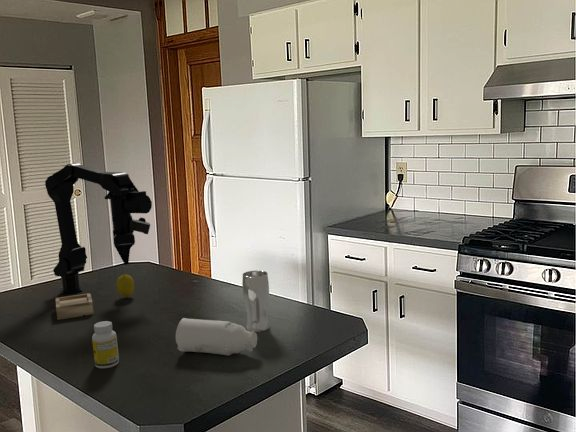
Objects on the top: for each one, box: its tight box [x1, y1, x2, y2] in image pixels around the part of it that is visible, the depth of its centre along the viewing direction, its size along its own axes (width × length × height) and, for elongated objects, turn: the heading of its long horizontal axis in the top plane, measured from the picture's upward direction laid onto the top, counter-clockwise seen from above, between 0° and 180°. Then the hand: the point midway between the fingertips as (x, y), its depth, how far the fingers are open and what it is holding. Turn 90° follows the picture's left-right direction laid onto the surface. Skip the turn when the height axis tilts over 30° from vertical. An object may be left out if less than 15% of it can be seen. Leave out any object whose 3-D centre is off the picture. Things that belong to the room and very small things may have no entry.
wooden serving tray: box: [55, 292, 95, 320], centre depth 171 cm, size 10×10×4 cm
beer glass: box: [242, 270, 270, 333], centre depth 150 cm, size 7×7×15 cm
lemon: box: [116, 273, 135, 299], centre depth 183 cm, size 6×6×8 cm
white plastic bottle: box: [175, 317, 258, 356], centre depth 135 cm, size 8×19×8 cm, turn 72°
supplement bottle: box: [91, 320, 120, 369], centre depth 131 cm, size 5×5×10 cm
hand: (126, 261), depth 181 cm, fingers open, 9 cm apart
